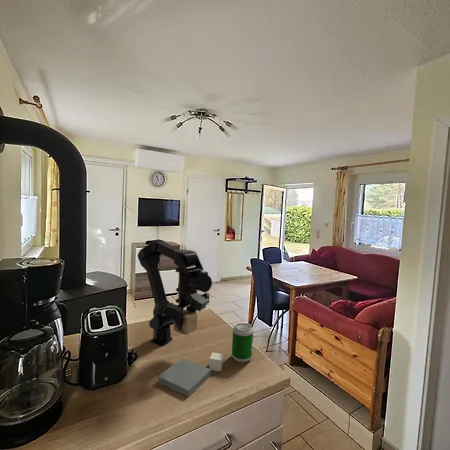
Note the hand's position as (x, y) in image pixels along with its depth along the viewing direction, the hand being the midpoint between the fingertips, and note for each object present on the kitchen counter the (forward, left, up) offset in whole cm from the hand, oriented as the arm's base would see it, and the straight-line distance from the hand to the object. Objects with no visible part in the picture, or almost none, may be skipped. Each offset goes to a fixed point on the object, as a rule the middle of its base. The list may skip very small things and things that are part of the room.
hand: (185, 326), depth 100 cm
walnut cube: (0, 0, -1) cm, 1 cm away
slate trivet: (+9, -11, -11) cm, 18 cm away
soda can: (+19, +10, -11) cm, 24 cm away
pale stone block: (+14, 0, -11) cm, 18 cm away
